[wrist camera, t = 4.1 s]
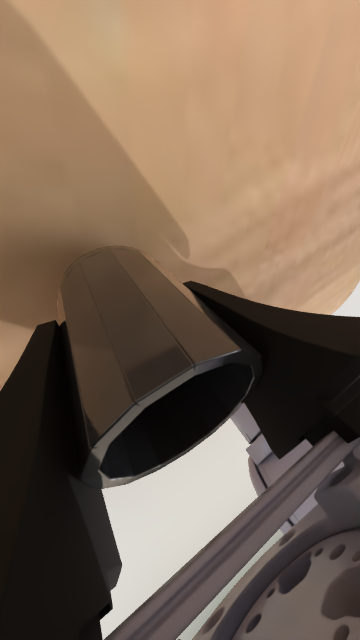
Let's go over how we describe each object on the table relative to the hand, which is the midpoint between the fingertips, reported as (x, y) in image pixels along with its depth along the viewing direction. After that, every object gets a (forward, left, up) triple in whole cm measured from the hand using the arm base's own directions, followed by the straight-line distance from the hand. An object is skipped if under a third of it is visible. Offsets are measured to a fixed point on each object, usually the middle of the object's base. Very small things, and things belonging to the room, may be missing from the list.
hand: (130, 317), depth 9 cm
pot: (0, 0, -2) cm, 2 cm away
